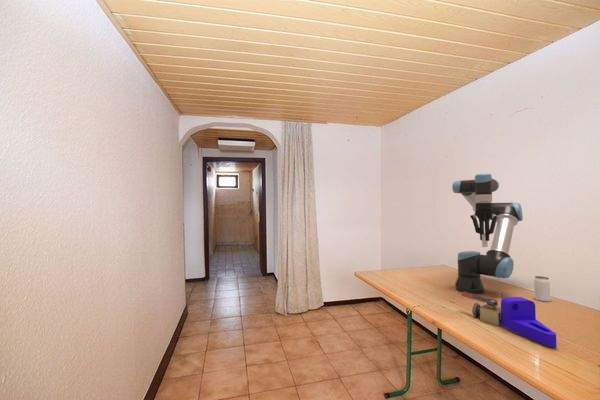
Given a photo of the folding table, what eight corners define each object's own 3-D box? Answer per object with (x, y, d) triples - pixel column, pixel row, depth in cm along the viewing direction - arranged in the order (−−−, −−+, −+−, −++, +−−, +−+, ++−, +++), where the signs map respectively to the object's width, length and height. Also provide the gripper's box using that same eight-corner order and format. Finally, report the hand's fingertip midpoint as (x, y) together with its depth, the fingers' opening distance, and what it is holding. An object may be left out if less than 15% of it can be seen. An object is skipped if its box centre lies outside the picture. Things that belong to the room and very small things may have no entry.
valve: (471, 318, 124) (471, 302, 124) (478, 314, 127) (478, 298, 128) (508, 329, 112) (507, 311, 112) (515, 325, 116) (514, 308, 116)
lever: (499, 304, 119) (499, 300, 119) (494, 306, 117) (494, 302, 117) (465, 294, 133) (465, 291, 133) (460, 296, 131) (460, 292, 131)
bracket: (501, 325, 115) (500, 297, 115) (526, 324, 115) (525, 296, 115) (539, 347, 97) (538, 314, 97) (569, 346, 97) (568, 313, 97)
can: (553, 302, 142) (553, 279, 142) (539, 301, 143) (538, 278, 143) (545, 298, 148) (544, 276, 148) (531, 297, 149) (531, 275, 150)
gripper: (500, 202, 141) (502, 247, 140) (473, 202, 152) (474, 244, 151) (494, 202, 137) (496, 249, 136) (467, 202, 147) (468, 246, 147)
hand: (484, 246), depth 144 cm, fingers closed
